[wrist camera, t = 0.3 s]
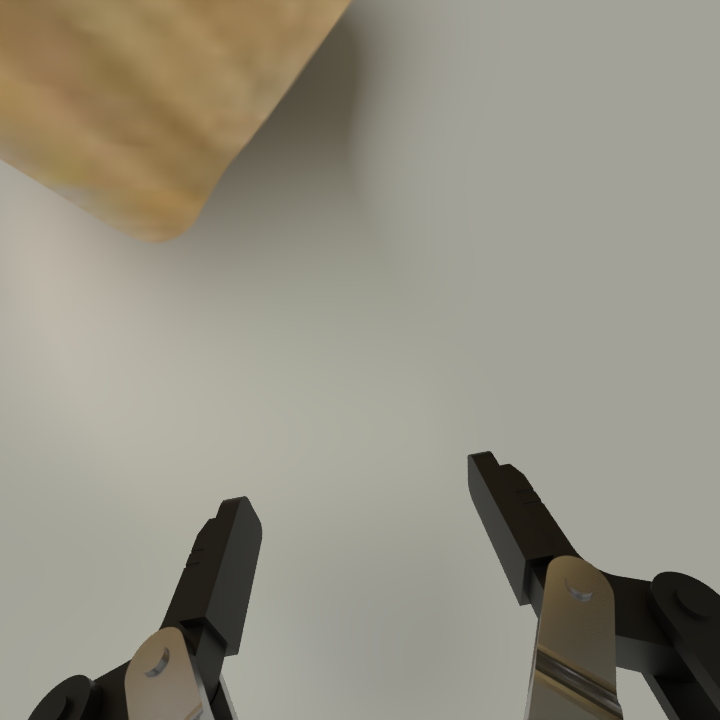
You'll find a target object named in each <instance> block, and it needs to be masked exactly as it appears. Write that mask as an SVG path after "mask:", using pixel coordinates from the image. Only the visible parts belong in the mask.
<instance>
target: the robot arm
mask: <svg viewBox="0 0 720 720" xmlns="http://www.w3.org/2000/svg"><path fill="white" fill-rule="evenodd" d="M468 486H469V491H470V494H471V497H472V500H473V503H474V505H475V507H476V509H477V512H478V514H479V516H480V518H481V520H482V523H483V525H484V527H485V529H486V532H487V534H488V536H489V538H490V540H491V543H492V545H493V547H494V549H495V551H496V553H497V556H498V558H499V560H500V563H501V565H502V567H503V569H504V572H505V574H506V576H507V578H508V580H509V583H510V585H511V587H512V589H513V592H514V594H515V596H516V598H517V600H518V603H519V605H520V606H521V605H527V604H531V605H532V607H533V609H534V612H535V614H536V616H537V618H538V622H537V630H536V637H535V644H534V651H533V659H532V667H531V673H530V680H529V688H528V695H527V702H526V708H525V714H524V720H623V713H622V709H621V706H620V704H619V703H618V699H617V692H616V667H620V668H624V669H629V670H633V671H637V672H641V673H642V675H643V677H644V678H645V680H646V681H647V683H648V685H649V687H650V688H651V690H652V692H653V693H654V695H655V697H656V699H657V700H658V702H659V704H660V705H661V707H662V709H663V710H664V712H665V714H666V715H667V717H668V719H669V720H720V595H719V594H717V593H716V592H715V591H714V590H713V589H711V588H710V587H709V586H707V585H706V584H704V583H702V582H701V581H699V580H697V579H695V578H693V577H690V576H688V575H685V574H682V573H678V572H663V573H660V574H658V575H657V576H656V577H654V579H653V581H652V582H650V581H645V580H639V579H633V578H627V577H621V576H615V575H611V574H608V573H605V572H603V571H601V570H599V569H597V568H595V567H594V566H593V565H592V564H590V563H588V562H587V561H585V560H584V559H583V558H582V557H581V556H580V555H579V554H578V553H577V552H576V551H575V549H574V548H573V547H572V545H571V544H570V542H569V541H568V539H567V538H566V536H565V535H564V533H563V532H562V530H561V529H560V527H559V526H558V524H557V523H556V521H555V520H554V519H553V517H552V516H551V514H550V513H549V511H548V510H547V508H546V507H545V505H544V504H543V503H542V502H541V499H540V498H539V496H538V495H537V493H536V492H535V491H534V490H533V487H532V486H531V484H530V483H529V481H528V480H527V478H526V477H525V476H524V474H522V473H521V472H520V471H519V470H517V469H516V468H515V467H513V466H512V465H510V464H506V465H499V464H498V462H497V460H496V459H495V457H494V456H493V454H492V453H491V452H490V451H486V452H481V453H476V454H471V455H468ZM261 541H262V527H261V523H260V520H259V518H258V516H257V515H256V513H255V511H254V509H253V507H252V505H251V503H250V501H249V499H248V498H247V497H245V496H243V497H238V498H233V499H227V500H224V501H223V502H222V503H221V505H220V507H219V510H218V513H217V516H216V518H213V519H209V520H208V521H207V523H206V524H205V525H204V527H203V528H202V529H201V531H200V532H199V533H198V535H197V538H196V540H195V543H194V545H193V548H192V550H191V554H190V555H189V558H188V560H187V563H186V568H184V570H183V573H182V575H181V578H180V580H179V583H178V585H177V588H176V590H175V593H174V595H173V598H172V601H171V603H170V606H169V608H168V610H167V613H166V616H165V618H164V621H163V623H162V625H161V627H160V629H159V630H158V631H157V632H156V633H154V634H153V635H151V636H150V637H149V638H148V639H147V640H146V641H145V642H144V643H143V644H142V645H141V646H140V648H139V649H138V650H137V652H136V653H135V655H134V656H133V658H132V659H131V660H130V661H128V662H126V663H124V664H123V665H121V666H119V667H117V668H115V669H114V670H112V671H110V672H108V673H107V674H105V675H103V676H101V677H99V678H98V679H95V680H94V681H92V680H91V679H89V678H87V677H86V676H84V675H75V676H72V677H70V678H68V679H66V680H64V681H63V682H61V683H60V684H58V685H57V686H56V687H55V688H53V689H52V690H51V691H50V692H49V693H48V694H47V695H46V696H45V697H44V698H43V699H42V700H41V702H40V703H39V704H38V705H37V707H36V708H35V710H34V711H33V712H32V714H31V715H30V717H29V719H28V720H238V718H237V715H236V712H235V710H234V707H233V704H232V701H231V698H230V695H229V692H228V689H227V687H226V684H225V681H224V678H223V675H222V673H221V668H222V664H223V660H224V657H226V656H231V655H237V654H238V652H239V647H240V642H241V637H242V632H243V627H244V622H245V617H246V613H247V608H248V603H249V599H250V594H251V589H252V584H253V579H254V574H255V569H256V565H257V560H258V555H259V550H260V545H261Z"/></svg>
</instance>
